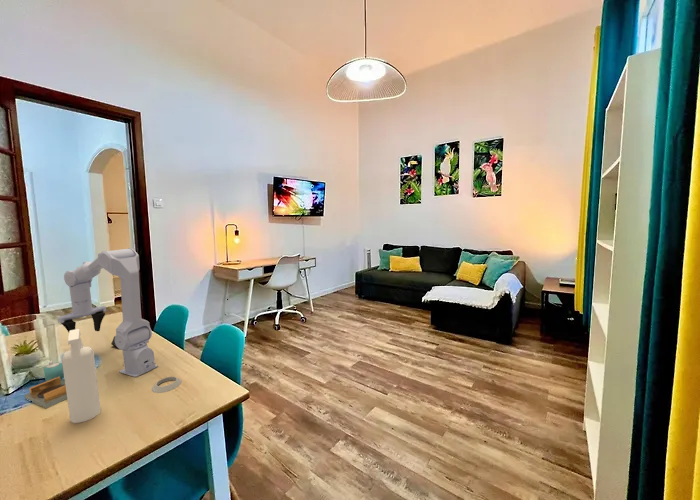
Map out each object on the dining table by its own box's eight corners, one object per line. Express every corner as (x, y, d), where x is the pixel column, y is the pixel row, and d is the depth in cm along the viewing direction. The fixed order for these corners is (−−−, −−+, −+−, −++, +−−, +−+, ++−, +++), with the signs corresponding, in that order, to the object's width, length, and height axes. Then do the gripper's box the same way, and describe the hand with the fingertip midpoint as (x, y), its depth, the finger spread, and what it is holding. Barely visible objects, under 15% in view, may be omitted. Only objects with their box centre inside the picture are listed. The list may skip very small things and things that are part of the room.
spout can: (66, 377, 104) (64, 360, 103) (49, 384, 100) (47, 366, 99) (59, 375, 106) (57, 358, 105) (43, 381, 102) (40, 364, 101)
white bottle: (103, 397, 92) (90, 320, 88) (102, 419, 82) (87, 334, 78) (73, 407, 88) (58, 326, 84) (69, 431, 78) (51, 342, 74)
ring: (155, 382, 101) (155, 377, 101) (183, 377, 104) (183, 372, 104) (148, 396, 93) (147, 391, 93) (179, 390, 96) (178, 385, 96)
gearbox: (90, 388, 97) (89, 378, 97) (45, 408, 87) (44, 397, 87) (70, 380, 102) (68, 371, 102) (25, 399, 92) (23, 388, 92)
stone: (109, 352, 124) (107, 339, 123) (114, 340, 135) (113, 328, 135) (129, 348, 127) (128, 336, 127) (133, 336, 139) (132, 325, 138)
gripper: (97, 294, 123) (101, 326, 125) (51, 304, 110) (56, 340, 112) (107, 296, 120) (111, 328, 122) (61, 306, 107) (66, 343, 109)
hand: (85, 334), depth 117 cm, fingers open, 7 cm apart
